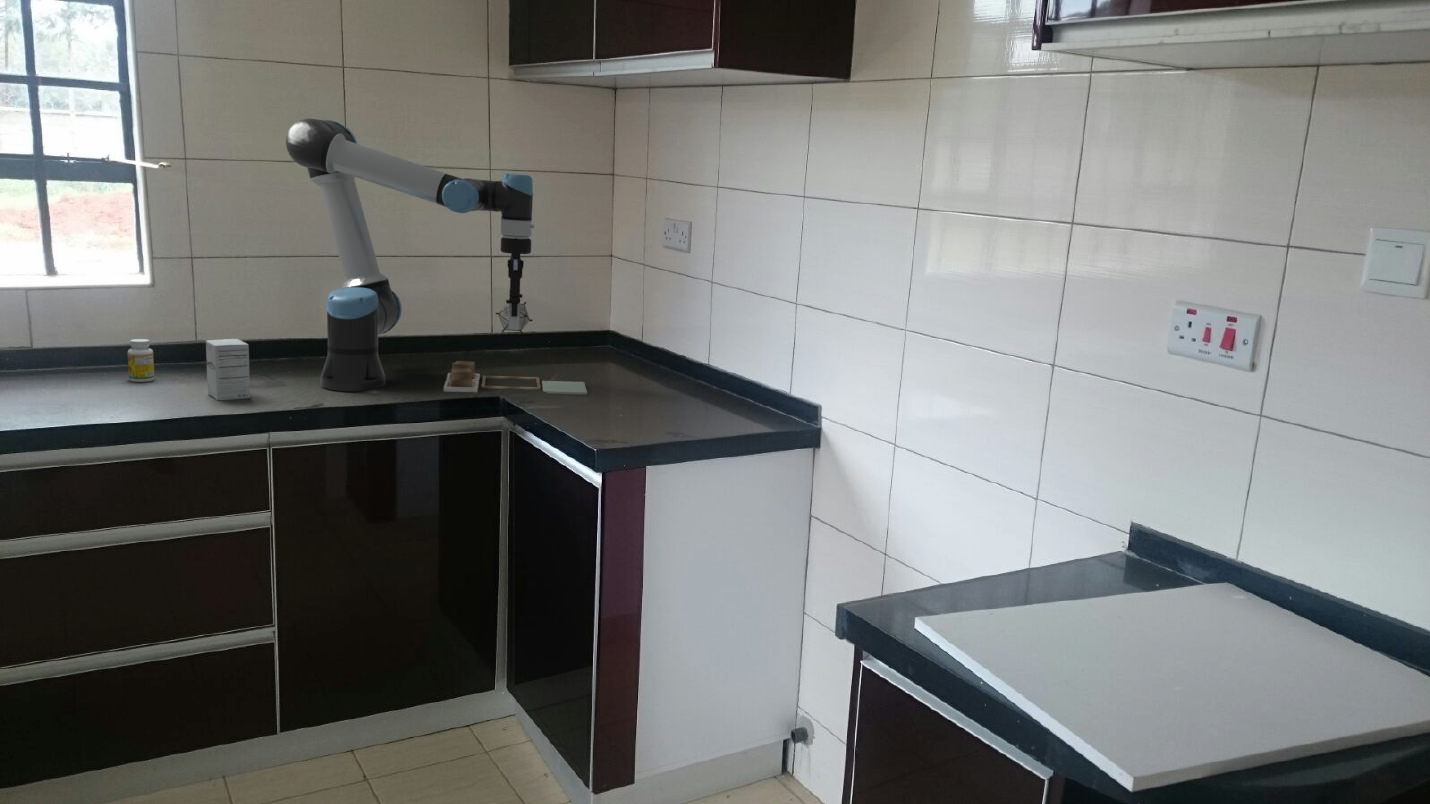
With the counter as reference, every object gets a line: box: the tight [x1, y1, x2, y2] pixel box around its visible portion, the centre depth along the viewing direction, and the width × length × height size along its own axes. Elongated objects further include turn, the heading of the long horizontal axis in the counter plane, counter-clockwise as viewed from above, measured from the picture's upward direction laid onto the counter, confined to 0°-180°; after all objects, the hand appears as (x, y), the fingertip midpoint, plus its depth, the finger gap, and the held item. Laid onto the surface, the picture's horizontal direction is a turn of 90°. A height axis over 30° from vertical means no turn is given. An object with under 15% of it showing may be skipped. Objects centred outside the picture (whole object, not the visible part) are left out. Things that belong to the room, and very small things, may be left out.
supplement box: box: [205, 338, 251, 401], centre depth 241 cm, size 7×7×13 cm
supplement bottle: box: [127, 338, 155, 383], centre depth 251 cm, size 5×5×10 cm
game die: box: [494, 299, 534, 335], centre depth 270 cm, size 9×8×10 cm
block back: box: [451, 360, 476, 379], centre depth 273 cm, size 4×4×4 cm
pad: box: [541, 380, 588, 396], centre depth 274 cm, size 11×13×1 cm
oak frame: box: [480, 375, 542, 391], centre depth 273 cm, size 15×14×1 cm
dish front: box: [443, 380, 480, 393], centre depth 264 cm, size 8×8×2 cm
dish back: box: [445, 372, 481, 383], centre depth 273 cm, size 8×8×2 cm
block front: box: [450, 368, 472, 387], centre depth 263 cm, size 4×4×4 cm
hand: (513, 326), depth 270 cm, fingers closed on game die, 9 cm apart
